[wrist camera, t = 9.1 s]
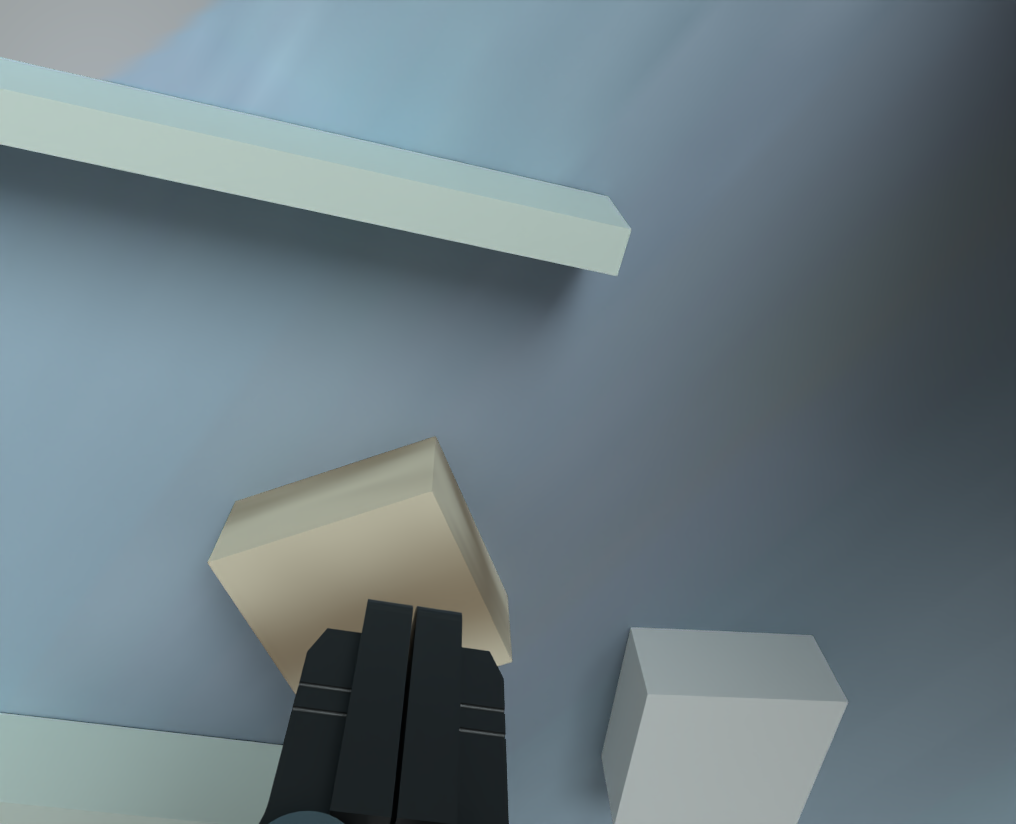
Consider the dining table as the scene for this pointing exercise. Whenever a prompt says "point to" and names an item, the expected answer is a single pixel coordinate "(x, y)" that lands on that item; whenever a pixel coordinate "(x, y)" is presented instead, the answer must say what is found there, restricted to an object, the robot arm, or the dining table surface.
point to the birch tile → (360, 555)
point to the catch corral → (283, 180)
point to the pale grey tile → (718, 727)
